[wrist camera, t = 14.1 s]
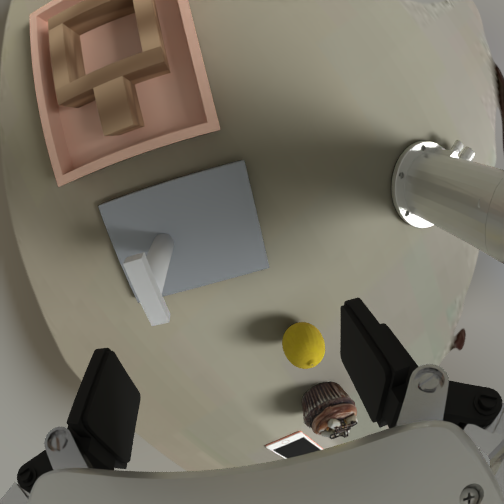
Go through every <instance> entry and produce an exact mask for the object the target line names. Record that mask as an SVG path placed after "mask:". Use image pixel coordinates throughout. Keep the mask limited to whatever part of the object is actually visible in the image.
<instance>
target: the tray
mask: <svg viewBox="0 0 504 504" xmlns="http://www.w3.org/2000/svg"><path fill="white" fill-rule="evenodd" d="M82 1H84V0H53V1H51V2H49V3H47V4H46V5H44V6H42V7H41V8H39V9H38V10H36V11H34V12H33V13H31V14H30V43H31V56H32V67H33V75H34V83H35V90H36V96H37V102H38V108H39V113H40V118H41V123H42V128H43V132H44V137H45V141H46V145H47V149H48V153H49V157H50V160H51V164H52V168H53V171H54V174H55V178H56V181H57V184H58V187H60V186H62V185H65V184H67V183H69V182H72V181H74V180H76V179H79V178H81V177H83V176H85V175H88V174H90V173H93V172H95V171H97V170H100V169H102V168H105V167H107V166H110V165H112V164H115V163H118V162H120V161H123V160H126V159H128V158H131V157H134V156H137V155H139V154H142V153H145V152H148V151H151V150H154V149H157V148H160V147H163V146H166V145H169V144H173V143H176V142H179V141H183V140H186V139H189V138H193V137H196V136H200V135H204V134H207V133H211V132H215V131H219V130H221V129H220V125H219V121H218V117H217V113H216V109H215V105H214V101H213V97H212V94H211V90H210V86H209V82H208V78H207V74H206V70H205V66H204V62H203V58H202V54H201V50H200V46H199V42H198V38H197V34H196V30H195V26H194V22H193V18H192V14H191V10H190V6H189V2H188V0H155V4H156V9H157V14H158V18H159V23H160V28H161V32H162V37H163V41H164V46H165V50H166V55H167V59H168V64H169V68H170V72H171V73H168V74H165V75H162V76H158V77H155V78H152V79H149V80H146V81H143V82H140V83H138V84H135V87H136V92H137V96H138V100H139V105H140V109H141V113H142V117H143V121H144V125H145V126H144V127H141V128H138V129H135V130H133V131H130V132H127V133H124V134H122V135H118V136H104V134H103V130H102V126H101V121H100V117H99V113H98V109H97V104H96V100H95V101H93V102H91V103H88V104H86V105H84V106H82V107H80V108H74V107H67V106H60V105H58V101H57V96H56V90H55V84H54V77H53V70H52V63H51V54H50V44H49V31H48V19H49V18H51V17H53V16H55V15H57V14H58V13H60V12H62V11H64V10H66V9H68V8H70V7H71V6H73V5H75V4H77V3H80V2H82ZM80 41H81V48H82V55H83V61H84V68H85V73H86V75H87V74H89V73H91V72H93V71H95V70H98V69H100V68H102V67H105V66H107V65H109V64H112V63H114V62H117V61H119V60H122V59H124V58H127V57H130V56H133V55H135V54H138V53H141V52H143V51H142V46H141V41H140V36H139V31H138V26H137V21H136V15H135V13H132V14H130V15H127V16H124V17H121V18H119V19H116V20H114V21H111V22H109V23H106V24H104V25H102V26H99V27H97V28H95V29H93V30H90V31H88V32H86V33H84V34H82V35H80Z"/></svg>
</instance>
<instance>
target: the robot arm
mask: <svg viewBox="0 0 504 504" xmlns="http://www.w3.org/2000/svg"><path fill="white" fill-rule="evenodd" d="M463 147H464V146H463V144H462V142H460V141H459V140H457V141H456V142H455V143H454V145H453V147H452V149H451V150H445V149H444V148H443V147H442V146H440V145H439V144H437V143H435V142H430V141H419V142H416V143H414V144H412V145H410V146H409V147H408V148H406V149H405V150H404V152H403V153H402V154H401V156H400V157H399V159H398V161H397V163H396V166H395V169H394V172H393V177H392V198H393V202H394V206H395V208H396V210H397V212H398V214H399V215H400V217H401V218H402V219H403V220H404V221H405V222H407V223H408V224H410V225H412V226H414V227H417V228H427V227H430V226H433V225H436V226H437V227H439V228H441V229H443V230H445V231H447V232H449V233H451V234H452V235H454V236H456V237H458V238H460V239H462V240H463V241H465V242H467V243H469V244H470V245H472V246H474V247H476V248H477V249H479V250H481V251H483V252H484V253H486V254H487V255H489V256H491V257H493V258H494V259H496V260H498V261H499V262H501V263H503V264H504V170H501V169H498V168H495V167H491V166H488V165H484V164H480V163H476V162H472V159H473V158H474V156H475V153H474V151H473V150H472V149H471V148H469V147H465V149H464V150H463V152H462V153H461V155H460V157H459V158H458V156H457V155H458V153H460V151H461V150H462V148H463ZM340 354H341V359H342V362H343V364H344V366H345V368H346V370H347V372H348V374H349V376H350V378H351V380H352V382H353V384H354V386H355V388H356V390H357V392H358V394H359V396H360V398H361V400H362V402H363V404H364V406H365V408H366V410H367V412H368V414H369V416H370V418H371V420H372V422H377V423H378V425H379V427H383V426H385V425H388V427H389V429H386V430H383V431H380V432H377V433H374V434H371V435H368V436H365V437H362V438H359V439H356V440H353V441H350V442H347V443H344V444H341V445H337V446H334V447H330V448H327V449H323V450H320V451H316V452H312V453H308V454H304V455H300V456H296V457H291V458H287V459H282V460H277V461H272V462H266V463H261V464H255V465H248V466H241V467H234V468H225V469H216V470H204V471H186V472H135V471H116V470H114V467H115V468H120V469H126V467H127V463H128V462H129V461H130V457H131V451H132V445H133V438H134V432H135V426H136V421H137V415H138V410H139V404H140V393H139V391H138V389H137V388H136V386H135V385H134V383H133V382H132V380H131V379H130V377H129V376H128V374H127V372H126V371H125V369H124V368H123V366H122V364H121V363H120V361H119V359H118V358H117V356H116V354H115V353H114V352H113V351H111V350H110V349H109V348H102V349H96V350H95V351H94V353H93V356H92V358H91V360H90V363H89V365H88V367H87V370H86V372H85V375H84V377H83V380H82V382H81V385H80V388H79V390H78V392H77V395H76V398H75V400H74V403H73V406H72V409H71V412H70V414H69V417H68V420H67V424H68V428H65V427H56V428H54V429H52V430H51V431H50V432H49V433H48V434H47V436H46V438H45V443H44V444H45V449H46V450H44V451H43V452H42V453H40V454H39V455H37V456H36V457H34V458H33V459H31V460H30V461H28V462H27V463H25V464H24V465H23V466H22V467H21V468H20V469H19V471H18V474H17V480H18V484H17V483H14V484H13V485H12V487H10V489H9V490H8V491H7V492H6V494H5V495H4V496H3V497H2V498H1V500H0V504H504V403H502V399H501V396H500V395H499V394H498V392H497V391H495V390H494V389H491V388H487V387H481V386H475V385H469V384H464V383H459V382H454V381H449V380H448V379H449V378H448V375H447V373H446V372H445V371H444V369H442V368H441V367H439V366H436V365H433V364H426V365H422V366H419V367H418V365H417V364H416V363H415V361H414V360H413V359H412V357H411V356H410V355H409V353H408V352H407V351H406V349H405V348H404V347H403V345H402V344H401V343H400V341H399V340H398V339H397V338H396V336H395V335H394V334H393V332H392V331H391V330H390V329H389V327H388V326H387V325H386V324H384V323H383V324H379V322H378V321H377V320H376V318H375V317H374V316H373V314H372V313H371V312H370V311H369V309H368V308H367V307H366V305H365V304H364V303H363V302H362V300H361V299H360V298H355V299H351V300H348V301H345V303H344V305H343V306H341V351H340ZM477 446H478V447H480V449H478V448H477ZM480 451H482V452H484V453H486V455H488V457H489V459H490V467H489V465H488V464H487V462H486V460H485V458H484V457H483V455H482V453H481V452H480Z"/></svg>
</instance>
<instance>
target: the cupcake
mask: <svg viewBox="0 0 504 504" xmlns="http://www.w3.org/2000/svg"><path fill="white" fill-rule="evenodd" d="M302 406H303V416H304V423H305V424H306V425H307V427H308V426H309V428H310V427H311V428H312V430H313V432H314V433H316V434H319V435H322V436H324V437H330V439H334V438H337V437H339V436H343V437H344V438H345V437H347V436H348V433H349V430H350V429H351V427H352V426H354V425H356V424H357V421H358V420H357V417H356V414H357V409H356V407H355V402H354V401H353V400H352V399H351V398H350V397H349V395H348V394H347V393H346V392H345V391H344V390H343V389H342V388H341V386H340V385H339V384H337V383H334V382H328V383H327V382H325V383H321V384H318V385H316V386H314V387H312V388H311V389H309V390H308V391H307V392H306V393H305V394H304V396H303V398H302ZM337 434H339V436H336V435H337Z"/></svg>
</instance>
